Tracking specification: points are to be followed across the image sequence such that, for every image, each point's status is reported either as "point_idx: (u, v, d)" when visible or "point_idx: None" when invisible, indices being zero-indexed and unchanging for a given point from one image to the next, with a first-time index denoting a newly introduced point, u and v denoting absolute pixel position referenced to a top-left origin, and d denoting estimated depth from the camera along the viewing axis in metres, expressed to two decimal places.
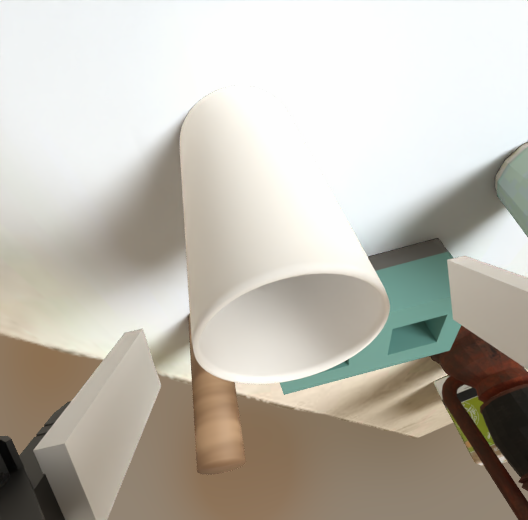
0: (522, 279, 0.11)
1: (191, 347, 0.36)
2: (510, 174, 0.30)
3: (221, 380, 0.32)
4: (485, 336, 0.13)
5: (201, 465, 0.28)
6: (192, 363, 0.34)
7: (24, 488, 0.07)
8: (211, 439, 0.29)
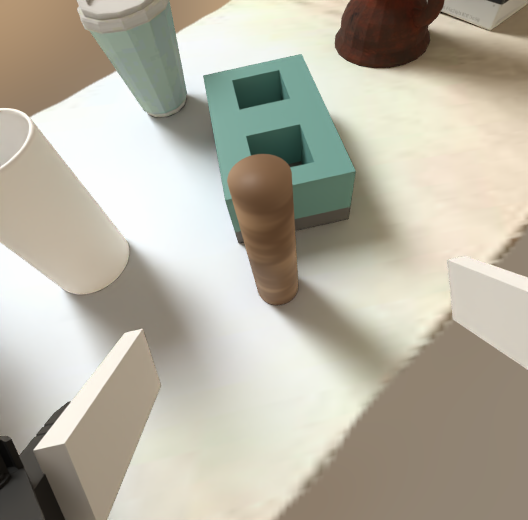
0: (522, 279, 0.11)
1: (264, 284, 0.30)
2: (154, 109, 0.49)
3: None
4: (485, 336, 0.13)
5: (238, 197, 0.21)
6: (261, 274, 0.29)
7: (24, 488, 0.07)
8: None
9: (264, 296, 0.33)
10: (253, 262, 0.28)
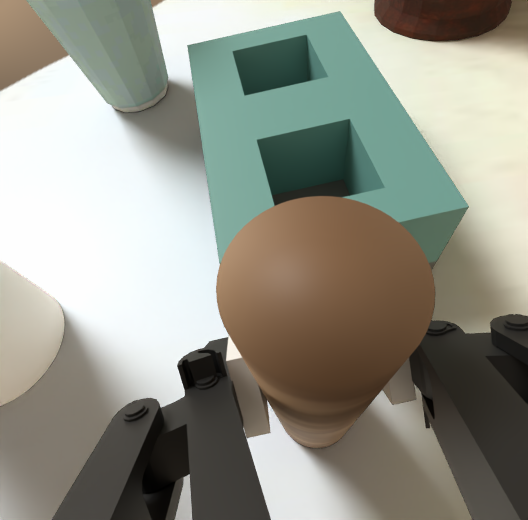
0: None
1: (297, 436, 0.15)
2: (119, 100, 0.34)
3: None
4: None
5: (253, 361, 0.06)
6: (295, 432, 0.14)
7: (227, 392, 0.09)
8: None
9: (293, 437, 0.18)
10: (279, 417, 0.13)
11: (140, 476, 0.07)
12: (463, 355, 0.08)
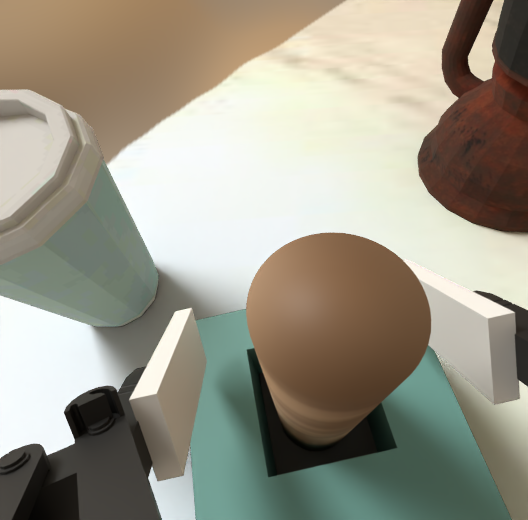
0: (443, 281, 0.12)
1: (300, 440, 0.16)
2: (94, 324, 0.26)
3: None
4: None
5: (280, 377, 0.07)
6: (299, 436, 0.15)
7: (125, 433, 0.08)
8: None
9: (294, 441, 0.19)
10: (286, 422, 0.14)
11: None
12: None
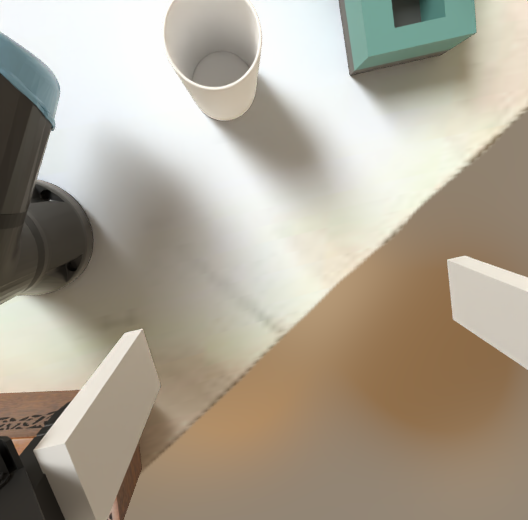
0: (522, 279, 0.11)
1: None
2: None
3: None
4: (485, 336, 0.13)
5: None
6: None
7: (24, 488, 0.07)
8: None
9: None
10: None
11: None
12: None
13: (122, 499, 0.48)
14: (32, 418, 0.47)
